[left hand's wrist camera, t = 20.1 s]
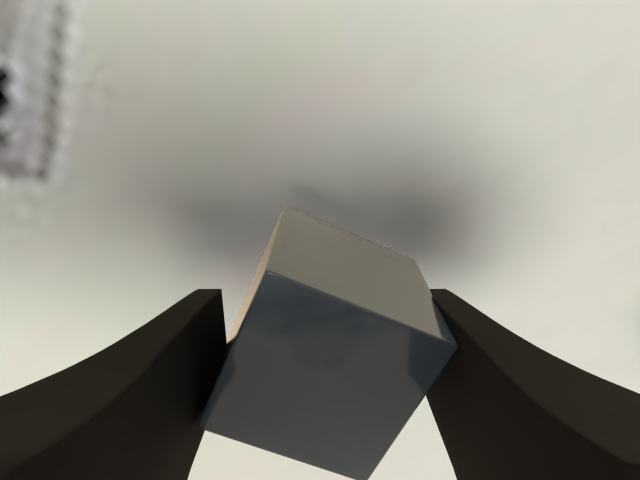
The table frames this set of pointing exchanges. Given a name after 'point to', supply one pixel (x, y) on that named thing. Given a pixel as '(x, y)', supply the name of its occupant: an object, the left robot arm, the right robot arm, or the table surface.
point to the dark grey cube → (328, 350)
